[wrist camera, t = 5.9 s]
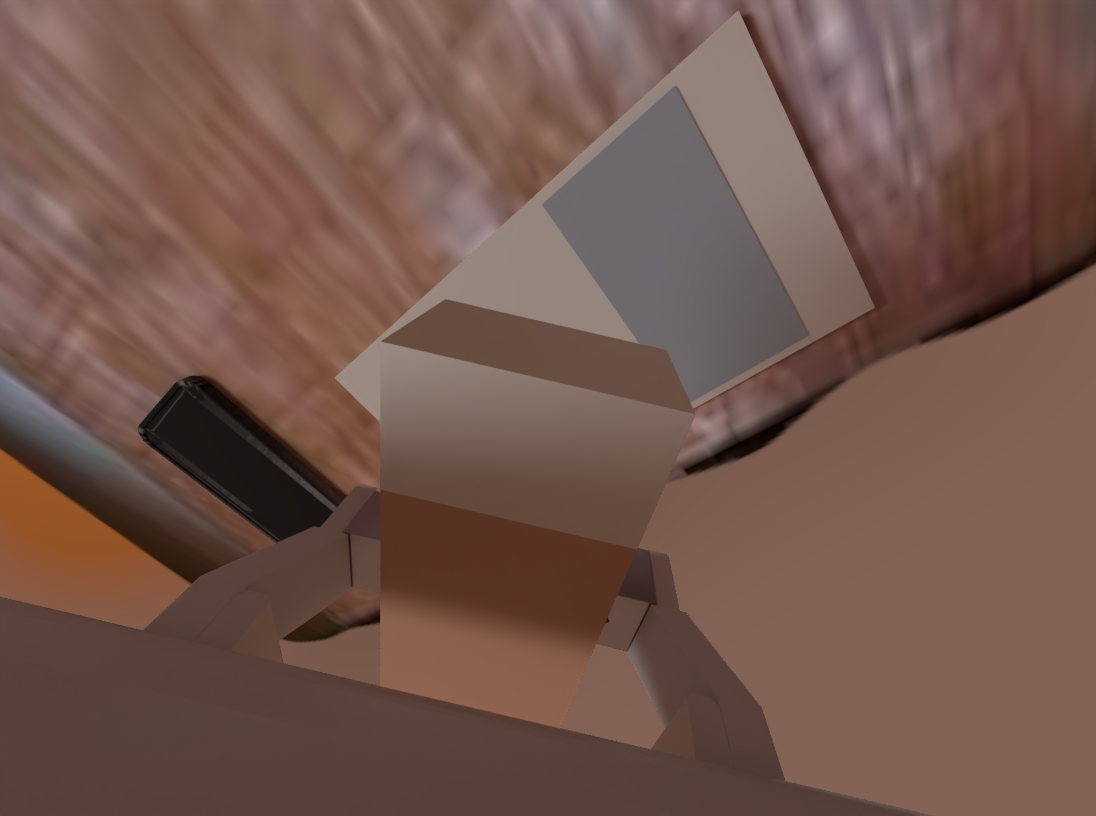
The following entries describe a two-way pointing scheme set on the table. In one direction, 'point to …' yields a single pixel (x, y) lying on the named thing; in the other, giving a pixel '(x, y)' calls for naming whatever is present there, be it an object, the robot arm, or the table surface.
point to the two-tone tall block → (513, 500)
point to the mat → (672, 235)
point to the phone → (237, 460)
